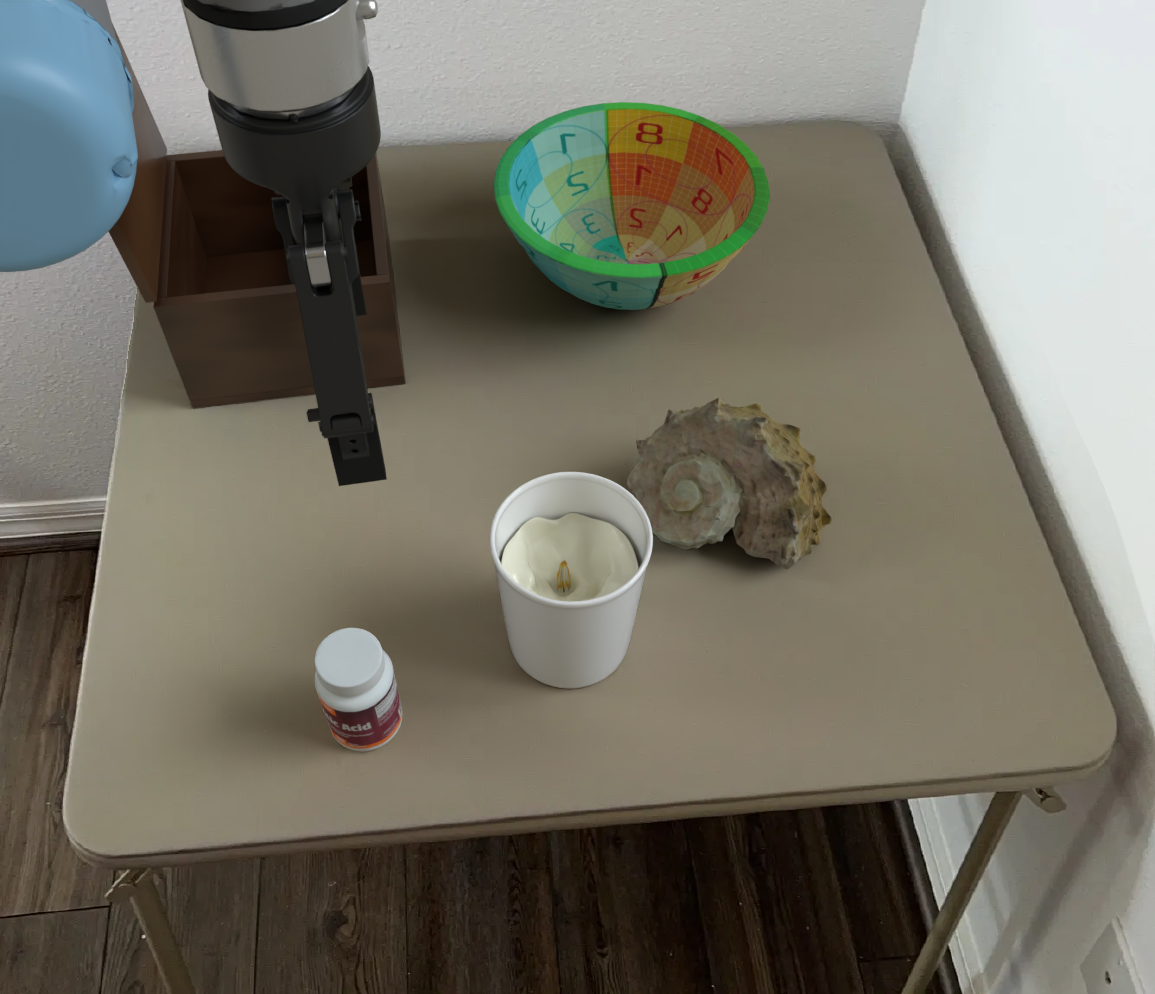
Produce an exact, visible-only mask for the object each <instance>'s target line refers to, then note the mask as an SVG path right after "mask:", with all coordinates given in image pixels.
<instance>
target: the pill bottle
mask: <svg viewBox="0 0 1155 994" xmlns="http://www.w3.org/2000/svg"><path fill="white" fill-rule="evenodd" d="M314 668H315V674H314V687H315V690H316V693H317V697H318V699H319V702H320V705H321V707H322V710H323V713H324V716H325V720H326V722H327V725H328V727H329V729H330V732H331V734H332V736H333V738H334V739H335V740H336V742H337V743H339V744H340V745H341V746H343V747H344V748H347V749H349V750H351V751H355V752H368V751H370V752H371V751H373V750H374V751H375V750H377V749H380V748H381V747H383V746H386V745H387V744H388V743H389V742H390V741H391V740H392V739H393V738H394V737H395V736H396V735H397V733H398V732H399V730H400V728H401V725H402V721H403V706H402V701H401V696H400V693H399V689H398V683H397V678H396V674H395V669H394V665H393V661H392V660H391V657H390V655H388V653H387V652H386V651H385V650H384V649H383V648H382V644H381V643H380V641H379V640H378V638H377V637H376V636H375V635H374V634H372V633H371V632H370V631H368V630H366V629H363V628H359V627H345V628H341V629H338V630H334V631H333V632H332V633H330V634H328V635H327V636H326V637H324V638H323V640H322V641H321V642H320V643H319V645H318V646H317V648H316V651H315V655H314Z"/></svg>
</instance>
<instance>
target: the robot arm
mask: <svg viewBox="0 0 1155 994" xmlns="http://www.w3.org/2000/svg"><path fill="white" fill-rule="evenodd" d="M180 4H181V7H182V11H183V12H182V13H183V15H184V19H185V23H186V26H187V30H188V33H189V37H190V42H191V45H192V48H193V53H194V56H195V60H196V64H197V67H198V72H199V75H200V78H201V80H202V83H203V84H204V87H206V89H207V98H208V102H209V107H210V110H211V112H212V118H213V120H214V125H215V128H216V132H217V137H218V140H219V143H220V148H221V150H222V151H223V154H224V157H225V158H226V160H227V162H228V164H229V165H230V166H231V167H232V169H233V170H234V171H235V172H237V173H238V174H239V175H240V176H242V177H243V178H245V179H246V180H248V181H250V182H252V183H254V184H257V185H260V186H263V187H266V188H269V189H272V190H274V192H275V193H276V194H278V195H282V197H275V198H272V208H273V214H274V220H275V226H276V228H277V230H278V231H279V232H280V233H281V234H282V237H283V242H284V249H285V255H286V261H287V267H288V273H289V278H290V281H291V282H292V283H293V284H294V285H295V288H296V292H297V297H298V302H299V308H300V313H301V319H302V324H303V329H304V335H305V340H306V346H307V351H308V356H309V362H310V367H311V373H312V378H313V383H314V389H315V394H314V395H315V400H316V404H317V407H313V408H308V409H307V411H306V418H307V421H308V423H313V422H318V430H319V432H320V433H321V436H322V437H323V439H327V443H328V446H329V451H330V455H331V459H332V464H333V468H334V471H335V476H336V481H337V484H338V487H343V486H351V485H359V484H365V483H373V482H380V481H387V480H388V478H387V471H386V470H387V469H386V465H385V459H384V453H383V448H382V442H381V437H380V432H379V425H378V421H377V415H376V410H375V405H374V400H373V399H374V398H373V394H372V392H369V390H368V389H369V388H367V382H366V376H365V369H364V363H363V356H362V350H361V343H360V337H359V330H358V324H357V317H356V316H361V315H367V313H366V305H365V299H364V294H363V288H362V282H361V277H360V271H359V264H358V258H357V251H356V244H355V238H354V231H353V227H354V225H355V223H356V221H361V216H360V209H359V203H358V200H357V201H354V197H353V192H352V189H351V190H349V188H350V187H352V179H351V177H352V176H353V175H355V174H356V173H358V172H359V171H361V170H362V169H363V168H364V167H365V166H366V165H367V164H368V163H369V162H370V161H371V160H372V158H373V157H374V155H375V153H377V152H378V149H379V146H380V143H381V137H382V131H381V123H380V116H379V108H378V102H377V93H376V85H375V78H374V75H373V74H374V73H373V72H372V70H371V68H370V66H369V64H370V51H369V46H368V38H367V30H366V25H365V21H364V20H372V19H375V18H376V17H377V15H378V13H379V8H378V2H377V1H376V0H180ZM112 23H113V21H112V17H111V13H110V10H109V6H108V1H107V0H0V273H15V272H26V271H32V270H38V269H43V268H46V267H49V266H53V265H56V264H59V263H61V262H64V261H66V260H69V259H71V258H73V257H75V256H77V255H80V254H81V253H83V252H84V251H86V250H88V249H89V248H91V247H92V246H93V245H94V244H96V243H97V242H99V241H100V240H101V239H102V238H103V237H104V236H106V234H107V233H109V232H108V231H109V230H110V229H111V228H112V227H113V226H114V224H115V223H116V222H117V220H118V219H119V218H120V216H121V214H122V212H123V211H124V209H125V207H126V205H127V203H128V201H129V198H130V195H131V192H132V189H133V186H134V181H135V175H136V166H137V160H138V151H137V144H136V138H135V131H134V125H133V118H132V112H133V108H134V97H133V87H132V80H131V75H130V73H129V71H128V69H127V68H126V66H125V63H124V60H123V57H122V54H121V51H120V48H119V45H118V43H117V39H116V36H115V32H114V28H115V27H114V28H113V26H114V24H113V25H112ZM341 224H342V225H341ZM296 243H297V245H296Z"/></svg>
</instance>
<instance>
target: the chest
mask: <svg viewBox="0 0 1155 994" xmlns="http://www.w3.org/2000/svg"><path fill="white" fill-rule="evenodd" d="M377 154H378V153H377V152H376V153H375V155H374V157H373V158H372V160H371V161H370V162H369V163H368V164H367V165H366V166H365V167H364V168H363V169H362V170H361V171H359V172H358V173H356V174H355V175H353V176H352V177H351V179H352V187H350V188H349V190H351V189H352V192H353V197H354V201H357V200H358V203H359V209H360V216H361V221H356V223H355V225H354V227H353V231H354V238H355V244H356V251H357V258H358V264H359V271H360V277H361V282H362V288H363V294H364V299H365V305H366V313H367V315H361V316H356V317H357V324H358V330H359V337H360V343H361V350H362V356H363V363H364V369H365V376H366V382H367V389H371V388H380V387H389V386H395V385H396V386H397V385H405V384H406V382H407V381H406V373H405V365H404V355H403V346H402V338H401V337H402V336H401V330H400V320H399V319H400V318H399V312H398V304H397V292H396V285H395V276H394V267H393V266H394V265H393V258H392V249H391V241H390V240H391V239H390V234H389V227H388V221H387V215H386V207H385V200H384V195H383V186H382V180H381V173H380V167H379V160H378V156H377ZM275 197H282V195H278V194H276V193H275V192H274V190H272V189H269V188H266V187H263V186H260V185H257V184H254V183H252V182H250V181H248V180H246V179H245V178H243V177H242V176H240V175H239V174H238V173H237V172H235V171H234V170H233V169H232V167H231V166H230V165H229V164H228V162H227V160H226V158H225V157H224V154H223V151H222V149H220V150H219V149H217V150H207V151H195V152H185V153H174V154H167V160H166V174H165V188H164V203H163V217H162V231H161V245H160V260H159V274H158V288H157V301H155V302H153V305H152V307H153V310H154V313H155V316H156V318H157V321H158V323H159V326H160V329H161V331H162V334H163V336H164V339H165V341H166V343H167V346H168V349H169V352H170V354H171V357H172V359H173V362H174V364H175V367H176V370H177V372H178V374H179V378H180V380H181V383H182V385H183V389H184V390H185V392H186V396H187V398H188V400H189V403H190V405H191V408H192V409H199V408H209V407H217V406H225V405H233V404H234V405H235V404H242V403H243V404H244V403H251V402H261V401H268V400H269V401H270V400H278V399H285V398H295V397H303V396H310V395H316V394H315V389H314V383H313V378H312V373H311V367H310V362H309V356H308V351H307V346H306V340H305V335H304V329H303V324H302V319H301V313H300V308H299V302H298V297H297V292H296V288H295V285H294V284H293V283H292V282H291V281H290V278H289V273H288V267H287V261H286V255H285V249H284V242H283V237H282V234H281V233H280V232H279V231H278V230H277V228H276V226H275V220H274V214H273V208H272V198H275ZM341 225H342V224H341ZM296 245H297V243H296Z"/></svg>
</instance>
